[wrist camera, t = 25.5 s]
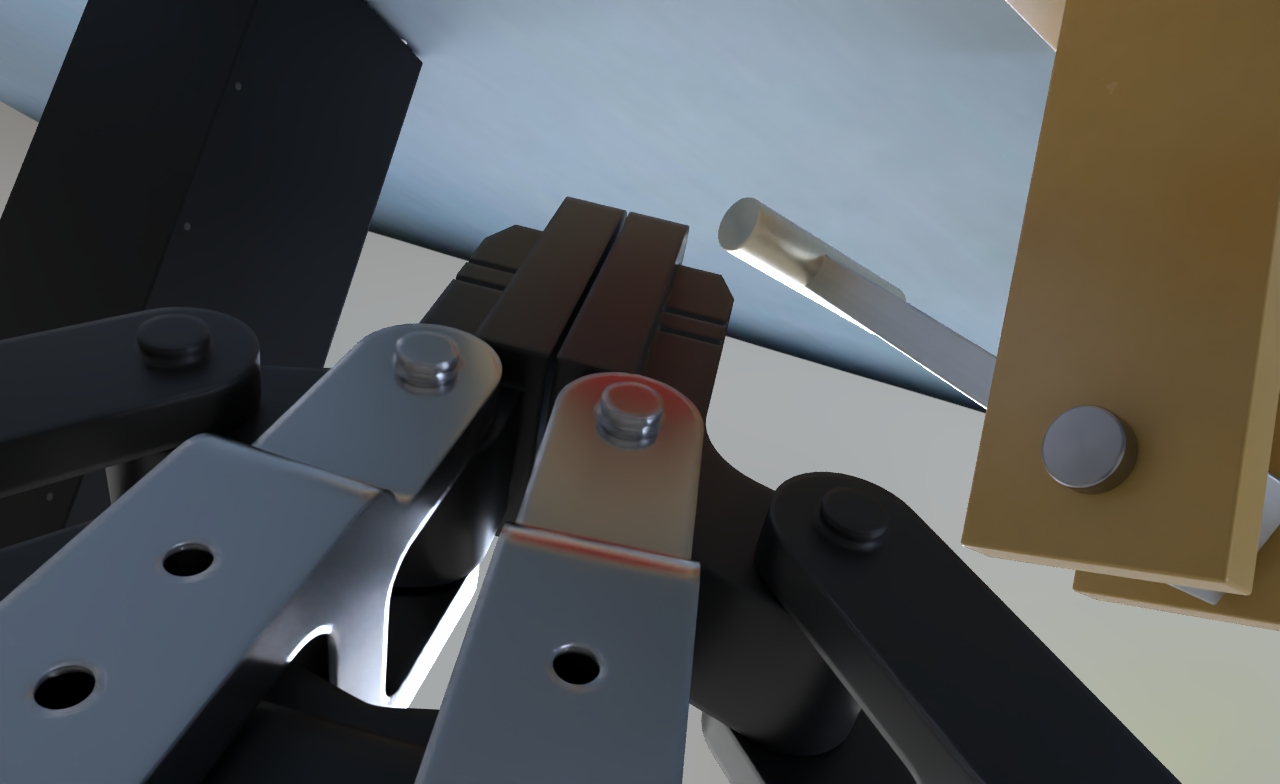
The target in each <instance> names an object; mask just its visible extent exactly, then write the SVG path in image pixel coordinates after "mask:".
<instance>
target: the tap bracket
mask: <svg viewBox="0 0 1280 784" xmlns="http://www.w3.org/2000/svg"><path fill="white" fill-rule="evenodd" d="M1005 1H1006V2H1007V3H1008V4H1009V5H1010V6H1011V7H1012V8H1013V9H1014V10H1015V11H1016V12H1017V13H1018V14H1019V15H1020V16H1021V17H1022V18H1023V19H1024V20H1025V21H1026V22H1027V24H1028V25H1029V26H1030V27H1031V28H1032V29H1033V30H1034V31H1035V32H1036V33H1037V34H1038V35H1039V36H1040V37H1041V38H1042V39H1043V40H1044V41H1045V42H1046V43H1047V44H1048V45H1049V46H1050V47H1051V48H1052V49H1053V50H1054V51H1055V52H1056V55H1055V60H1054V65H1053V70H1052V75H1051V80H1050V86H1049V91H1048V96H1047V101H1046V106H1045V111H1044V116H1043V122H1042V127H1041V132H1040V137H1039V142H1038V147H1037V153H1036V158H1035V163H1034V168H1033V173H1032V178H1031V183H1030V189H1029V194H1028V199H1027V204H1026V209H1025V214H1024V220H1023V225H1022V230H1021V235H1020V240H1019V245H1018V251H1017V256H1016V261H1015V266H1014V271H1013V276H1012V281H1011V287H1010V292H1009V297H1008V302H1007V307H1006V312H1005V318H1004V323H1003V328H1002V333H1001V338H1000V343H999V348H998V354H997V359H996V364H995V369H994V374H993V379H992V385H991V390H990V395H989V400H988V405H987V410H986V416H985V421H984V426H983V431H982V436H981V441H980V447H979V452H978V457H977V462H976V467H975V472H974V478H973V483H972V488H971V493H970V498H969V503H968V508H967V514H966V519H965V524H964V530H963V534H962V539H961V544H962V545H963V546H964V547H967V548H969V549H972V550H974V551H977V552H979V553H982V554H984V555H987V556H989V557H993V558H1000V559H1007V560H1014V561H1020V562H1026V563H1033V564H1040V565H1046V566H1053V567H1060V568H1067V569H1073V570H1076V572H1075V577H1074V583H1073V590H1075V591H1076V592H1079V593H1081V594H1084V595H1086V596H1089V597H1091V598H1094V599H1096V600H1102V601H1108V602H1113V603H1120V604H1125V605H1131V606H1137V607H1143V608H1149V609H1154V610H1160V611H1166V612H1172V613H1177V614H1183V615H1190V616H1195V617H1201V618H1207V619H1212V620H1218V621H1224V622H1230V623H1236V624H1241V625H1247V626H1253V627H1259V628H1265V629H1271V630H1276V631H1280V525H1279V526H1278V527H1277V528H1276V530H1275V531H1274V532H1273V533H1272V535H1271V536H1270V537H1269V538H1268V540H1267V541H1266V542H1265V543H1264V545H1263V546H1262V547H1261V548H1260V550H1259V551H1258V543H1259V536H1260V529H1261V521H1262V514H1263V507H1264V499H1265V492H1266V485H1267V477H1268V471H1269V472H1270V473H1272V474H1273V475H1274V476H1276V477H1277V478H1279V479H1280V0H1005ZM1257 551H1258V552H1257ZM1168 584H1173V585H1179V586H1186V587H1192V588H1199V589H1206V590H1212V591H1219V592H1225V594H1224V595H1223V596H1222V597H1221V599H1220V600H1219V601H1218V602H1217V604H1215V605H1213V604H1210V603H1208V602H1205V601H1203V600H1201V599H1199V598H1197V597H1194V596H1192V595H1190V594H1188V593H1186V592H1184V591H1181V590H1179V589H1177V588H1175V587H1173V586H1170V585H1168Z"/></svg>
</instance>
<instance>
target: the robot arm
mask: <svg viewBox="0 0 1280 784" xmlns="http://www.w3.org/2000/svg"><path fill="white" fill-rule="evenodd" d="M688 232H689V226H688V225H683V224H679V223H675V222H671V221H667V220H663V219H659V218H655V217H651V216H647V215H642V214H638V213H634V212H630V213H629V215H628V217H627V212H626V211H625V210H621V209H617V208H613V207H609V206H605V205H601V204H597V203H593V202H588V201H584V200H580V199H576V198H572V197H566V198H565V200H564V201H563V203H562V204H561V205H560V207H559V208H558V210H557V211H556V213H555V214H554V216H553V217H552V219H551V220H550V222H549V223H548V225H547V226H546V228H545V229H544V231H539V230H535V229H531V228H527V227H523V226H519V225H514V226H511V227H509V228H507V229H505V230H502V231H500V232H498V233H496V234H493V235H491V236H489V237H487V238H485V239H484V240H483V242H482V243H481V244H480V245H479V247H478V248H477V249H476V251H475V252H474V253H473V254H472V256H471V257H470V258H469V263H468V262H466V263H465V265H464V266H463V267H462V269H461V270H460V271H459V272H458V274H457V276H456V280H455V279H453V280H452V281H451V283H450V284H449V285H448V287H447V288H446V289H445V290H444V292H443V293H442V294H441V296H440V297H439V298H438V300H437V301H436V302H435V303H434V305H433V306H432V307H431V308H430V310H429V311H428V312H427V314H426V315H425V316H424V318H423V319H422V320H421V322H420V323H418V324H403V325H396V326H392V327H387V328H384V329H381V330H378V331H375V332H373V333H371V334H369V335H368V336H366V337H364V338H363V339H362V340H361V341H360V342H358V343H357V344H356V345H355V346H354V347H353V348H352V349H351V350H350V351H349V352H348V353H347V354H346V355H345V356H344V357H342V358H341V359H340V360H339V361H338V362H337V363H336V364H335V365H334V366H333V367H332V368H307V367H289V366H270V365H260V349H259V341H258V338H257V336H256V334H255V333H254V331H253V330H252V329H251V328H250V327H249V326H248V325H246V324H245V323H244V322H242V321H240V320H239V319H237V318H235V317H232V316H230V315H228V314H225V313H221V312H218V311H214V310H209V309H203V308H193V307H166V308H157V309H150V310H144V311H140V312H135V313H130V314H125V315H120V316H115V317H110V318H105V319H101V320H96V321H91V322H86V323H81V324H76V325H71V326H66V327H62V328H57V329H52V330H47V331H42V332H37V333H32V334H27V335H23V336H18V337H13V338H8V339H3V340H0V499H1V498H4V497H7V496H11V495H14V494H18V493H21V492H25V491H28V490H32V489H35V488H38V487H42V486H45V485H49V484H52V483H56V482H59V481H63V480H66V479H69V478H73V477H76V476H80V475H83V474H87V473H90V472H93V471H97V470H100V469H104V468H105V469H106V475H107V481H108V488H109V494H110V500H111V506H110V507H108V508H107V509H106V510H105V511H104V512H103V513H102V514H100V515H99V516H98V517H97V518H96V519H93V520H90V521H86V522H83V523H80V524H77V525H74V526H71V527H68V528H64V529H61V530H58V531H55V532H52V533H49V534H46V535H42V536H39V537H36V538H33V539H30V540H27V541H24V542H20V543H17V544H14V545H11V546H8V547H5V548H2V549H0V784H682V777H683V765H684V754H685V743H686V731H687V720H688V709H689V708H688V707H689V703H690V704H692V705H693V706H695V707H696V708H698V709H700V710H701V711H702V731H703V734H704V737H705V741H706V743H707V745H708V747H709V749H710V751H711V753H712V754H713V756H714V758H715V759H716V761H717V762H718V764H719V766H720V767H721V769H722V770H723V772H724V774H725V775H726V777H727V778H728V780H729V782H730V784H1182V783H1181V782H1180V781H1179V780H1178V779H1177V778H1176V777H1175V776H1174V775H1173V774H1172V773H1171V772H1170V771H1169V770H1168V769H1167V768H1166V767H1165V766H1164V765H1163V764H1162V763H1161V762H1160V761H1159V760H1158V759H1157V758H1156V757H1155V756H1154V755H1153V754H1152V753H1151V752H1150V751H1149V750H1148V749H1147V748H1146V747H1145V746H1144V745H1143V744H1142V743H1141V742H1140V741H1139V740H1138V739H1137V738H1136V737H1135V736H1134V735H1133V734H1132V733H1131V732H1130V731H1129V729H1127V727H1126V726H1124V724H1122V722H1121V721H1120V720H1119V719H1118V718H1117V717H1116V716H1115V715H1114V714H1113V713H1112V712H1111V711H1110V710H1109V709H1108V708H1107V707H1106V706H1105V705H1104V704H1103V703H1102V702H1101V701H1100V700H1099V699H1098V698H1097V697H1096V696H1095V695H1094V694H1093V693H1092V692H1091V691H1090V690H1089V689H1088V688H1087V687H1086V686H1085V685H1084V684H1083V683H1082V682H1081V681H1080V680H1079V679H1078V678H1077V677H1076V676H1075V675H1074V674H1073V673H1072V672H1071V671H1070V670H1069V668H1067V666H1065V664H1064V663H1063V662H1062V661H1061V660H1060V659H1059V658H1058V657H1057V656H1056V655H1055V654H1054V653H1053V652H1052V651H1051V650H1050V649H1049V648H1048V647H1047V646H1046V645H1045V644H1044V643H1043V642H1042V641H1041V640H1040V639H1039V638H1038V637H1037V636H1036V635H1035V634H1034V633H1033V632H1032V631H1031V630H1030V629H1029V628H1028V627H1027V626H1026V625H1025V624H1024V623H1023V622H1022V621H1021V620H1020V619H1019V618H1018V617H1017V616H1016V615H1015V614H1014V613H1013V612H1012V610H1010V608H1008V607H1007V606H1006V604H1004V602H1003V601H1001V599H1000V598H999V597H998V596H997V595H996V594H995V593H994V592H993V591H992V590H991V589H990V588H989V587H988V586H987V585H986V584H985V583H984V582H983V581H982V580H981V579H980V578H979V577H978V576H977V575H976V574H975V573H974V572H973V571H972V570H971V569H970V568H969V567H968V566H967V565H966V564H965V563H964V562H963V561H962V560H961V559H960V558H959V557H958V556H957V555H956V554H955V553H954V552H953V550H952V549H951V548H949V546H948V545H947V544H946V543H945V542H944V541H943V540H942V539H941V538H940V537H939V536H938V535H937V534H936V533H935V532H934V531H933V530H932V529H931V528H930V527H929V526H928V525H927V524H926V523H925V522H924V521H923V520H922V519H921V518H920V517H919V516H918V515H917V514H916V513H915V512H914V511H913V510H912V509H911V508H910V507H909V506H908V505H907V504H905V503H904V502H903V501H902V500H901V499H899V498H898V497H896V496H895V495H894V494H892V493H890V492H889V491H887V490H885V489H883V488H882V487H880V486H878V485H876V484H873V483H871V482H869V481H866V480H863V479H860V478H857V477H854V476H850V475H845V474H841V473H832V472H812V473H805V474H801V475H797V476H794V477H792V478H790V479H788V480H786V481H785V482H784V483H782V484H781V485H780V486H779V487H778V488H777V490H776V491H774V490H772V489H770V488H768V487H766V486H764V485H762V484H760V483H758V482H756V481H754V480H752V479H751V478H749V477H747V476H745V475H743V474H742V473H740V472H739V471H738V470H736V469H735V468H734V467H732V466H731V465H730V464H729V463H728V462H727V461H725V460H724V459H723V458H722V456H721V455H720V454H719V453H718V452H717V451H716V449H715V448H714V446H713V445H712V443H711V441H710V439H709V436H708V434H707V430H706V416H707V412H708V408H709V403H710V399H711V395H712V390H713V386H714V382H715V378H716V374H717V369H718V365H719V361H720V357H721V353H722V348H723V344H724V340H725V336H726V332H727V327H728V323H729V319H730V315H731V311H732V306H733V302H734V298H733V296H732V294H731V292H730V291H729V289H728V287H727V285H726V283H725V281H724V279H723V277H722V275H719V274H715V273H711V272H706V271H702V270H698V269H694V268H690V267H686V266H682V261H683V257H684V252H685V247H686V243H687V238H688ZM494 535H495V536H498V537H499V538H498V541H497V544H496V547H495V550H494V553H493V555H492V559H491V561H490V564H489V567H488V570H487V573H486V576H485V579H484V582H483V585H482V588H481V590H480V593H479V596H478V599H477V602H476V605H475V608H474V611H473V614H472V617H471V620H470V622H469V625H468V628H467V631H466V634H465V637H464V640H463V643H462V646H461V649H460V652H459V655H458V657H457V661H456V663H455V666H454V669H453V672H452V675H451V678H450V681H449V684H448V687H447V690H446V692H445V695H444V698H443V701H442V705H441V707H440V710H434V709H414V708H407V707H408V706H409V704H410V702H411V700H412V699H413V697H414V695H415V694H416V692H417V690H418V688H419V687H420V685H421V683H422V682H423V680H424V678H425V676H426V675H427V673H428V671H429V669H430V668H431V666H432V664H433V663H434V661H435V659H436V658H437V655H438V654H439V652H440V651H441V649H442V647H443V645H444V644H445V642H446V640H447V639H448V637H449V635H450V634H451V632H452V630H453V628H454V627H455V625H456V623H457V622H458V620H459V618H460V616H461V615H462V613H463V611H464V610H465V608H466V606H467V604H468V603H469V601H470V599H471V598H472V596H473V594H474V591H475V589H476V585H477V580H478V571H479V564H480V563H481V561H482V560H483V558H484V556H485V555H486V552H487V550H488V548H489V546H490V544H491V542H492V539H493V538H494Z"/></svg>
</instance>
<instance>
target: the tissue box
mask: <svg viewBox="0 0 1280 784" xmlns="http://www.w3.org/2000/svg"><path fill="white" fill-rule="evenodd" d="M406 44H407V42H406V41H405V40H403V39H400V38H399V37H398V36H397V35H396V34H395V33H394V32H393V31H392V29H391V28H390V27H389V26H388V25H387V24H386V23H385V22H384V21H383V20H382V19H381V18H380V17H379V16H378V15H377V14H376V13H375V12H374V11H373V10H372V9H371V8H370V7H369V6H368V5H367V4H366V3H365V2H364V1H363V0H88V2H87V5H86V7H85V10H84V12H83V15H82V17H81V20H80V22H79V25H78V27H77V30H76V32H75V35H74V37H73V40H72V42H71V45H70V47H69V50H68V52H67V55H66V57H65V60H64V62H63V65H62V67H61V70H60V72H59V74H58V77H57V79H56V82H55V84H54V87H53V89H52V92H51V94H50V97H49V99H48V102H47V104H46V107H45V109H44V112H43V114H42V117H41V119H40V122H39V124H38V127H37V129H36V132H35V135H34V137H33V139H32V142H31V144H30V147H29V149H28V152H27V154H26V157H25V159H24V162H23V164H22V167H21V169H20V172H19V174H18V177H17V179H16V182H15V184H14V187H13V189H12V191H11V194H10V196H9V199H8V202H7V204H6V206H5V209H4V211H3V214H2V217H1V219H0V340H3V339H8V338H13V337H18V336H23V335H27V334H32V333H37V332H42V331H47V330H52V329H57V328H62V327H66V326H71V325H76V324H81V323H86V322H91V321H96V320H101V319H105V318H110V317H115V316H120V315H125V314H130V313H135V312H140V311H144V310H150V309H157V308H166V307H193V308H203V309H209V310H214V311H218V312H221V313H225V314H228V315H230V316H232V317H235V318H237V319H239V320H240V321H242V322H244V323H245V324H246V325H248V326H249V327H250V328H251V329H252V330H253V331H254V333H255V334H256V336H257V338H258V341H259V349H260V365H270V366H289V367H307V368H323V367H324V364H325V361H326V358H327V355H328V352H329V349H330V346H331V343H332V340H333V337H334V333H335V331H336V327H337V324H338V321H339V318H340V315H341V312H342V309H343V306H344V303H345V300H346V297H347V294H348V290H349V288H350V285H351V281H352V278H353V275H354V272H355V269H356V266H357V263H358V260H359V257H360V254H361V251H362V248H363V245H364V242H365V239H366V235H367V232H368V229H369V226H370V223H371V220H372V217H373V214H374V211H375V208H376V205H377V202H378V199H379V196H380V193H381V190H382V186H383V183H384V180H385V177H386V174H387V171H388V168H389V165H390V162H391V159H392V156H393V153H394V150H395V147H396V144H397V141H398V137H399V134H400V131H401V128H402V125H403V122H404V119H405V116H406V113H407V110H408V107H409V104H410V101H411V98H412V95H413V91H414V88H415V85H416V82H417V79H418V76H419V73H420V70H421V67H422V64H423V63H422V62H421V61H420V60H419V58H418V57H417V56H416V55H415V54H414V53H413V52H412V50H411V49H410V48H409V47H408V46H407V45H406ZM110 506H111V500H110V494H109V488H108V481H107V475H106V469H105V468H104V469H100V470H97V471H93V472H90V473H87V474H83V475H80V476H76V477H73V478H69V479H66V480H63V481H59V482H56V483H52V484H49V485H45V486H42V487H38V488H35V489H32V490H28V491H25V492H21V493H18V494H14V495H11V496H7V497H4V498H1V499H0V549H2V548H5V547H8V546H11V545H14V544H17V543H20V542H24V541H27V540H30V539H33V538H36V537H39V536H42V535H46V534H49V533H52V532H55V531H58V530H61V529H64V528H68V527H71V526H74V525H77V524H80V523H83V522H86V521H90V520H93V519H96V518H97V517H98V516H99V515H100V514H102V513H103V512H104V511H105V510H106V509H107V508H108V507H110Z"/></svg>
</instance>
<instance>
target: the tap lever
mask: <svg viewBox="0 0 1280 784" xmlns="http://www.w3.org/2000/svg"><path fill="white" fill-rule="evenodd" d="M718 239H719V243H720V245H721V247H722V248H723V249H724V250H726V251H727V252H729V253H731V254H733V255H734V256H736V257H738V258H740V259H741V260H743V261H745V262H747V263H749V264H750V265H752V266H754V267H756V268H757V269H759V270H761V271H763V272H764V273H766V274H768V275H770V276H771V277H773V278H775V279H777V280H778V281H780V282H782V283H784V284H786V285H787V286H789V287H791V288H793V289H794V290H796V291H798V292H800V293H801V294H803V295H805V296H807V297H808V298H810V299H812V300H814V301H816V302H817V303H819V304H821V305H823V306H824V307H826V308H828V309H830V310H831V311H833V312H835V313H837V314H838V315H840V316H842V317H844V318H845V319H847V320H849V321H851V322H853V323H854V324H856V325H858V326H860V327H861V328H863V329H865V330H867V331H868V332H870V333H872V334H876V335H877V336H879V337H880V338H881V339H883V340H884V341H886V342H887V343H889V344H890V345H892V346H893V347H895V348H896V349H898V350H899V351H901V352H902V353H904V354H905V355H907V356H908V357H910V358H911V359H913V360H914V361H916V362H917V363H919V364H920V365H921V366H923V367H924V368H926V369H927V370H929V371H930V372H932V373H933V374H935V375H936V376H938V377H939V378H941V379H942V380H944V381H945V382H947V383H948V384H950V385H951V386H953V387H954V388H956V389H957V390H959V391H960V392H961V393H963V394H964V395H966V396H967V397H969V398H970V399H972V400H973V401H975V402H976V403H978V404H979V405H981V406H982V407H984V408H985V409H987V405H988V400H989V395H990V390H991V385H992V379H993V374H994V369H995V364H996V359H997V357H996V356H994V355H992V354H991V353H989V352H987V351H986V350H984V349H982V348H981V347H979V346H977V345H976V344H974V343H973V342H971V341H969V340H968V339H966V338H964V337H963V336H961V335H959V334H958V333H956V332H955V331H953V330H951V329H950V328H948V327H946V326H945V325H943V324H941V323H940V322H938V321H936V320H935V319H933V318H932V317H930V316H928V315H927V314H925V313H923V312H922V311H920V310H918V309H917V308H915V307H913V306H912V305H910V304H909V303H907V302H906V298H905V296H904V294H903V292H902V291H901V290H900V289H898V288H897V287H895V286H894V285H892V284H891V283H889V282H887V281H886V280H884V279H883V278H881V277H879V276H878V275H876V274H875V273H873V272H871V271H870V270H868V269H867V268H865V267H863V266H862V265H860V264H859V263H857V262H855V261H854V260H852V259H851V258H849V257H847V256H846V255H844V254H843V253H841V252H839V251H838V250H836V249H835V248H833V247H831V246H830V245H828V244H827V243H825V242H823V241H822V240H820V239H819V238H817V237H815V236H814V235H812V234H811V233H809V232H807V231H806V230H804V229H803V228H801V227H799V226H798V225H796V224H795V223H793V222H791V221H790V220H788V219H787V218H785V217H783V216H782V215H780V214H779V213H777V212H775V211H774V210H772V209H771V208H769V207H767V206H766V205H764V204H763V203H761V202H760V201H758V200H756V199H754V198H748V197H747V198H743V199H740V200H739V201H737V202H736V203H734V204H733V205H732V206H731V207H730V208H729V209H728V211H727V212H726V213H725V215H724V217H723V219H722V221H721V224H720V227H719V231H718ZM1279 525H1280V479H1279V478H1277V477H1276V476H1274V475H1273V474H1272V473H1270V472H1269V471H1268V477H1267V485H1266V492H1265V499H1264V507H1263V514H1262V521H1261V529H1260V536H1259V543H1258V551H1259V550H1260V548H1261V547H1262V546H1263V545H1264V543H1265V542H1266V541H1267V540H1268V538H1269V537H1270V536H1271V535H1272V533H1273V532H1274V531H1275V530H1276V528H1277V527H1278V526H1279ZM1258 551H1257V552H1258ZM1168 585H1170V586H1173V587H1175V588H1177V589H1179V590H1181V591H1184V592H1186V593H1188V594H1190V595H1192V596H1194V597H1197V598H1199V599H1201V600H1203V601H1205V602H1208V603H1210V604H1213V605H1215V604H1217V602H1218V601H1219V600H1220V599H1221V597H1222V596H1223V595H1224V594H1225V592H1219V591H1212V590H1206V589H1199V588H1192V587H1186V586H1179V585H1173V584H1168Z"/></svg>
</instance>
